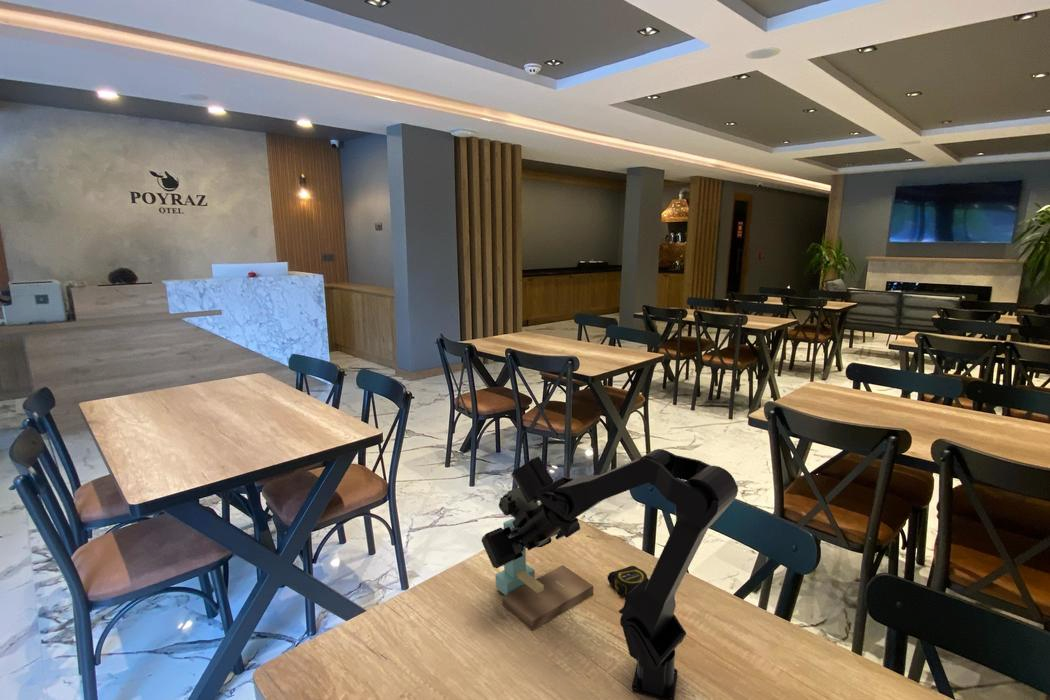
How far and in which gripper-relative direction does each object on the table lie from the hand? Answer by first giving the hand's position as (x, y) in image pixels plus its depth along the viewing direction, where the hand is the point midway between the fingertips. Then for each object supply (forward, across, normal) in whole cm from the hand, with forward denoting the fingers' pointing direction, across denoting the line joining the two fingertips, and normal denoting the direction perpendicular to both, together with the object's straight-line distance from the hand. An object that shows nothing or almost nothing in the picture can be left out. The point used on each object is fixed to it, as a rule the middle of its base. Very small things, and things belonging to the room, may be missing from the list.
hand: (510, 548), depth 109 cm
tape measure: (-5, -18, +18) cm, 25 cm away
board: (0, -3, +12) cm, 12 cm away
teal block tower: (+2, 0, +9) cm, 9 cm away
